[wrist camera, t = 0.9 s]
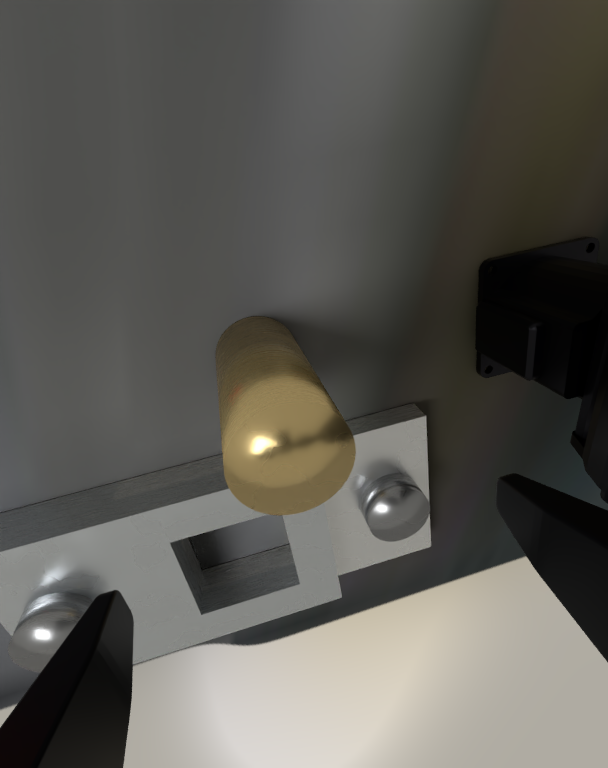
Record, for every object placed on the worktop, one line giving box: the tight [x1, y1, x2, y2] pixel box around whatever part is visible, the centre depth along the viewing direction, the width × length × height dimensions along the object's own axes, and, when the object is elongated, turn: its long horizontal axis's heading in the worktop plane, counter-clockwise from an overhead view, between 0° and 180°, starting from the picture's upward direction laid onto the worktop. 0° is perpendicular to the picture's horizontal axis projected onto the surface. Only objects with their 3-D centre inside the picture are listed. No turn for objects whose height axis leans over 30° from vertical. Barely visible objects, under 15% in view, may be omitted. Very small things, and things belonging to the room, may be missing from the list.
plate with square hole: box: [0, 403, 431, 673], centre depth 22 cm, size 23×10×4 cm, turn 100°
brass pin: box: [216, 316, 356, 515], centre depth 16 cm, size 4×4×9 cm
